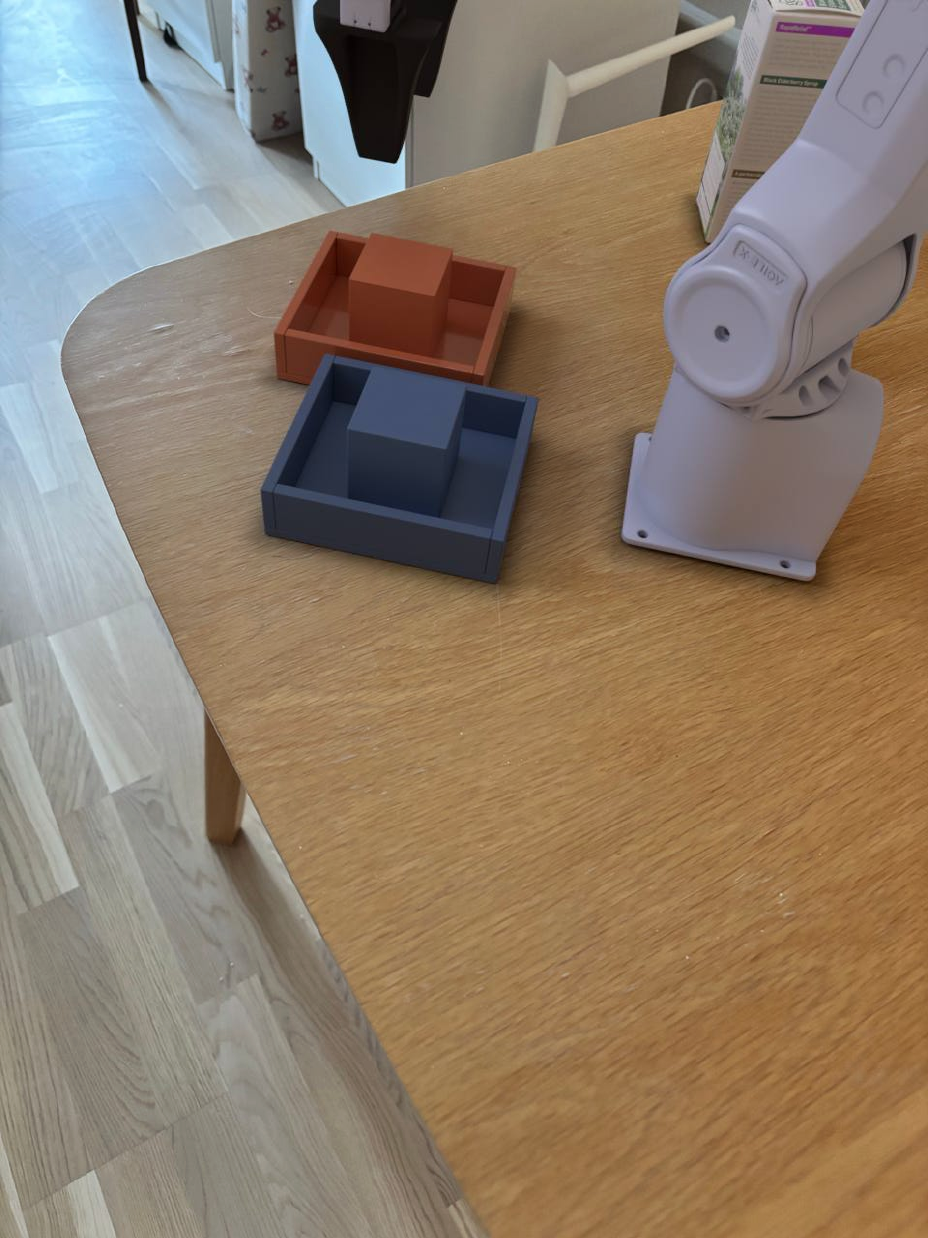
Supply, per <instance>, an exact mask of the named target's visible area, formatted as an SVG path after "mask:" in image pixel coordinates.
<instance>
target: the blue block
mask: <svg viewBox="0 0 928 1238" xmlns="http://www.w3.org/2000/svg"><path fill="white" fill-rule="evenodd" d="M466 390H467V386H466V385H461V384H457V383H452V382H447V381H442V380H437V379H432V378H427V377H423V376H418V375H413V374H408V373H403V372H398V371H393V370H388V369H384V368H379V367H373V368H372V370H371V373H370V375H369V377H368V380H367V382H366V385H365V387H364V389H363V392H362V394H361V396H360V399H359V401H358V404H357V406H356V408H355V411H354V413H353V415H352V418H351V420H350V423H349V425H348V427H347V499H352V500H357V501H361V502H366V503H371V504H375V505H380V506H385V507H389V508H394V509H399V510H404V511H408V512H413V513H418V514H422V515H427V516H432V517H436V518H440V516H441V513H442V510H443V506H444V503H445V500H446V497H447V493H448V490H449V487H450V483H451V480H452V477H453V474H454V470H455V467H456V464H457V460H458V457H459V450H460V441H461V433H462V424H463V416H464V407H465V399H466Z"/></svg>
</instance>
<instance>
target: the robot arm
mask: <svg viewBox="0 0 928 1238" xmlns="http://www.w3.org/2000/svg"><path fill="white" fill-rule="evenodd" d="M458 1H459V0H316V1H315V2H314V3H313V5H312V20H313V26H314V30H315V34H316V35H317V36H318V38H319V40H320V41H321V43H322V45H323V46H324V47H323V48H325V51H326V52H327V55H328V56H329V59H330V61H331V64H332V65H333V68H334V71H335V73H336V75H337V78H338V81H339V84H340V87H341V91H342V95H343V98H344V103H345V107H346V112H347V117H348V121H349V125H350V129H351V134H352V138H353V143H354V146H355V150H356V153H357V156H358V158H361V159H366V160H371V161H376V162H381V163H387V164H392V165H396V164H398V161H399V160H400V157H401V155H402V152H403V149H404V145H405V141H406V138H407V134H408V128H409V123H410V118H411V112H412V106H413V100H414V96H417V97H422V98H428V99H430V98H431V96H432V94H433V91H434V88H435V85H436V83H437V80H438V76H439V73H440V68H441V65H442V60H443V56H444V52H445V48H446V44H447V39H448V35H449V31H450V26H451V24H452V20H453V16H454V14H455V13H454V12H455V10H456V7H457V4H458ZM864 10H865V11H864V13H863V15H862V17H861V19H860V20H859V22H858V24H857V26H856V28H855V30H854V32H853V34H852V36H851V37H850V39H849V41H848V43H847V45H846V47H845V49H844V51H843V53H842V54H841V56H840V58H839V60H838V62H837V64H836V66H835V68H834V70H833V71H832V73H831V75H830V77H829V79H828V81H827V83H826V85H825V87H824V88H823V90H822V92H821V94H820V96H819V98H818V100H817V102H816V104H815V105H814V107H813V109H812V111H811V113H810V115H809V117H808V119H807V121H806V122H805V124H804V126H803V128H802V130H801V132H800V134H799V136H798V137H797V139H796V140H795V141H794V142H793V144H792V145H791V146H790V147H789V148H788V149H787V150H786V151H785V152H784V154H783V155H782V156H781V157H780V158H779V159H778V160H777V161H776V162H775V163H774V164H773V165H772V166H771V167H770V168H769V169H768V170H767V171H766V173H765V174H764V175H763V176H762V177H761V178H760V179H759V180H758V181H757V182H756V183H755V184H754V185H753V186H752V187H751V188H750V190H749V191H748V192H747V193H746V194H745V195H744V196H743V197H742V198H741V199H740V200H739V202H738V203H737V204H736V205H735V206H734V208H733V209H732V210H731V212H730V214H729V216H728V218H727V220H726V222H725V224H724V226H723V228H722V230H721V231H720V233H719V235H718V236H717V238H716V239H715V240H714V241H713V242H712V243H709V245H707V247H705V248H704V249H703V250H700V252H698V253H697V254H695V255H694V256H692V257H690V258H688V259H687V260H686V261H685V262H684V263H683V264H682V265H681V266H680V267H679V268H678V269H677V271H676V272H675V274H674V275H673V276H672V278H671V280H670V282H669V285H668V286H667V289H666V292H665V296H664V299H663V300H664V301H663V308H662V323H663V324H662V325H663V330H664V336H665V340H666V343H667V346H668V350H669V352H670V354H671V356H672V358H673V361H674V363H673V366H672V373H671V376H670V378H669V382H668V384H667V389H666V391H665V394H664V397H663V401H662V403H661V407H660V410H659V413H658V416H657V419H656V422H655V426H654V428H653V430H652V431H653V432H652V433H649V432H639V433H637V434H636V435H635V436H634V441H633V448H632V455H631V461H630V469H629V470H630V471H629V474H628V475H629V476H628V483H627V491H626V497H625V505H624V512H623V513H624V514H623V519H622V526H621V534H620V537H621V539H622V541H623V542H625V544H629V545H632V546H637V547H641V548H645V549H646V548H647V549H650V550H651V549H652V550H656V551H661V552H665V553H670V554H673V555H680V556H684V557H690V558H693V559H698V560H703V561H708V562H713V563H717V564H721V565H726V566H732V567H736V568H741V569H745V570H750V571H755V572H758V573H759V572H760V573H765V574H770V575H774V576H778V577H782V578H783V577H784V578H788V579H793V580H796V581H797V580H798V581H801V582H810V581H812V580H813V579H814V577H815V575H816V573H817V560H818V559H819V558H820V556H821V554H822V552H823V550H824V549H825V547H826V546H827V544H828V542H829V540H830V539H831V536H832V535H833V533H834V532H835V530H836V528H837V526H838V524H839V523H840V521H841V520H842V518H843V516H844V514H845V512H846V510H847V509H848V507H849V505H850V503H851V502H852V500H853V498H854V496H855V495H856V493H857V491H858V489H859V488H860V486H861V484H862V483H863V481H864V479H865V476H866V474H867V473H868V470H869V468H870V465H871V463H872V460H873V458H874V454H875V452H876V449H877V445H878V443H879V439H880V436H881V431H882V427H883V421H884V412H885V391H884V386H883V384H882V382H881V380H880V379H878V378H877V377H875V376H872V375H869V374H866V373H864V372H861V371H858V370H856V369H854V368H852V367H851V366H852V359H853V352H854V346H855V344H856V342H857V341H858V338H859V336H860V334H862V333H863V332H865V331H866V330H868V329H871V328H873V327H877V326H878V325H880V324H881V323H882V322H884V321H887V319H889V318H890V317H891V316H893V314H895V313H896V312H897V310H899V309H900V308H901V306H902V305H903V304H904V303H905V301H906V300H907V298H908V296H909V294H910V292H911V290H912V288H913V287H914V283H915V280H916V277H917V272H918V265H919V258H920V253H921V249H922V245H923V241H924V240H925V237H926V235H927V233H928V0H869V2H868V3H867V4H866V7H865V8H864Z"/></svg>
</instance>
